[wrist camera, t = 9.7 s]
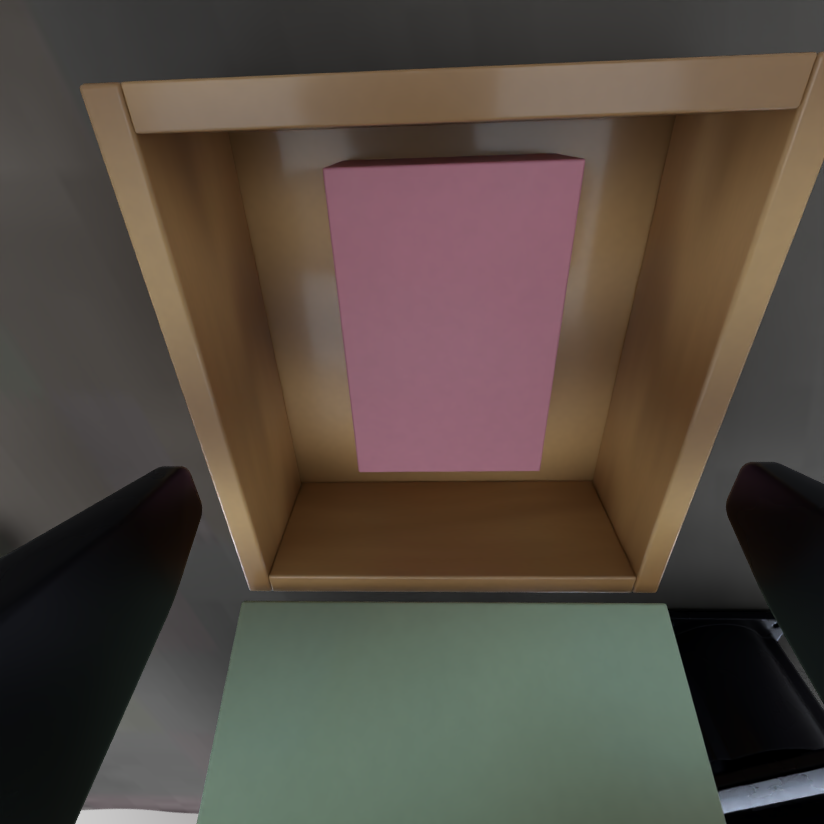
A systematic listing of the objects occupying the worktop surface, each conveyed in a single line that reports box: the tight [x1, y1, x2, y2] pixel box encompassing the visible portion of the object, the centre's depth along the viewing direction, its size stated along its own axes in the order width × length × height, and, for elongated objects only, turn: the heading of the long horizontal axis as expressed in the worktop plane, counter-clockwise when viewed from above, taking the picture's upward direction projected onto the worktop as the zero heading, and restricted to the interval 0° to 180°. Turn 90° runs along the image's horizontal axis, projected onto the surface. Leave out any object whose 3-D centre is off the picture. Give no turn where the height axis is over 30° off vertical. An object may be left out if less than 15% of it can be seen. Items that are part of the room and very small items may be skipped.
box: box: [80, 52, 824, 593], centre depth 14 cm, size 14×14×6 cm
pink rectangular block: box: [323, 153, 585, 472], centre depth 14 cm, size 6×9×3 cm, turn 2°
